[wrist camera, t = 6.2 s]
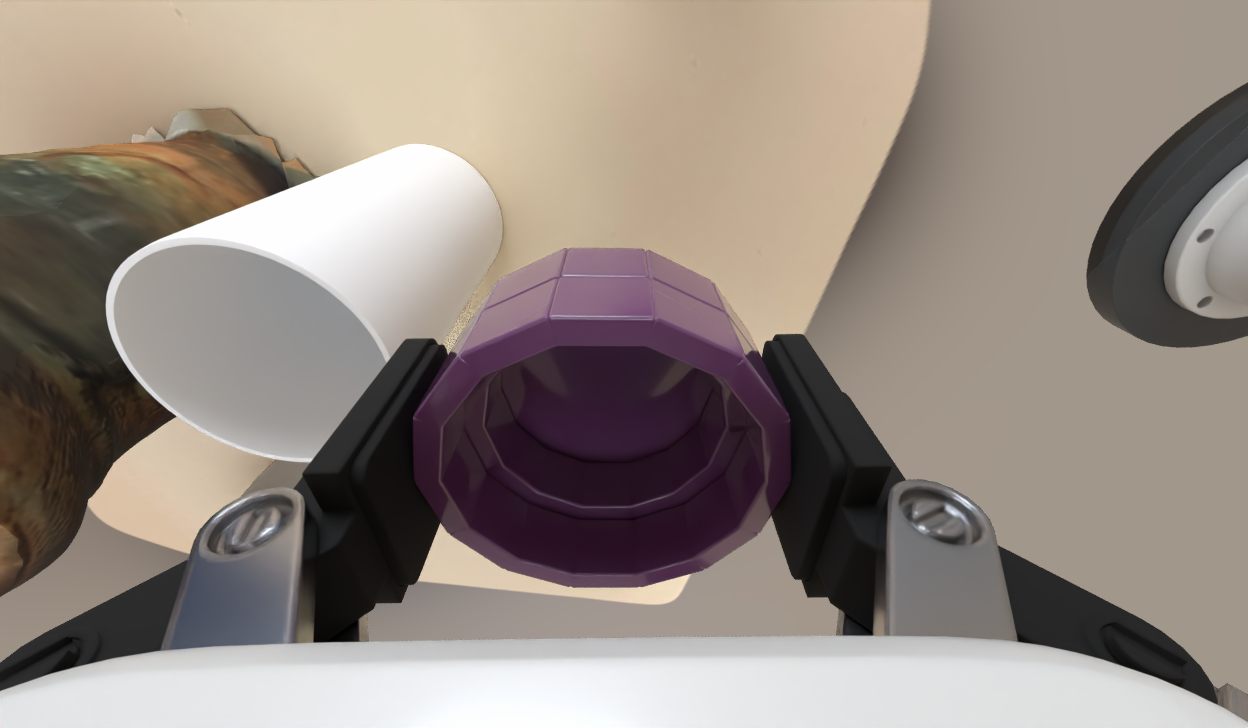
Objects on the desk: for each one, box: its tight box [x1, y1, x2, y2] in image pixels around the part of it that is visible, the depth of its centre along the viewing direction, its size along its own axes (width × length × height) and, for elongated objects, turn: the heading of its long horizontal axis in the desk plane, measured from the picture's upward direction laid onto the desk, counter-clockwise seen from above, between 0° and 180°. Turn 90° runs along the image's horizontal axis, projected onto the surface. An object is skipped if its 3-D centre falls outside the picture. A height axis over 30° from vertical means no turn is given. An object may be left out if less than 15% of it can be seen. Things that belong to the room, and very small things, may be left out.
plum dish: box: [413, 248, 792, 588], centre depth 10 cm, size 7×7×3 cm
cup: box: [106, 144, 503, 462], centre depth 21 cm, size 8×8×16 cm
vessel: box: [0, 108, 316, 597], centre depth 20 cm, size 14×14×20 cm
